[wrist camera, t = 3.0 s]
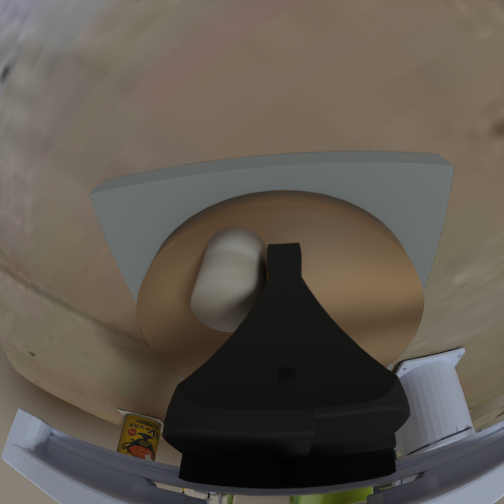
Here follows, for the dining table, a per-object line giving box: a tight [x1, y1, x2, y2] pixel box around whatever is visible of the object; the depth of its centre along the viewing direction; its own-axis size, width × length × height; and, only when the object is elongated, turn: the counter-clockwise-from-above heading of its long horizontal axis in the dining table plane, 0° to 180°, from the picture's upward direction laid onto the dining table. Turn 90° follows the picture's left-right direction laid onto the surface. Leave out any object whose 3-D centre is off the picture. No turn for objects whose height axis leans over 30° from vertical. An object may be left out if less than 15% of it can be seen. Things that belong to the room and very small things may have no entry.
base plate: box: [89, 151, 455, 381], centre depth 17 cm, size 18×18×2 cm
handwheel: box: [136, 190, 424, 379], centre depth 14 cm, size 16×16×5 cm
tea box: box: [290, 447, 398, 504], centre depth 30 cm, size 15×10×15 cm, turn 90°
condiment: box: [116, 408, 164, 461], centre depth 33 cm, size 7×8×12 cm
